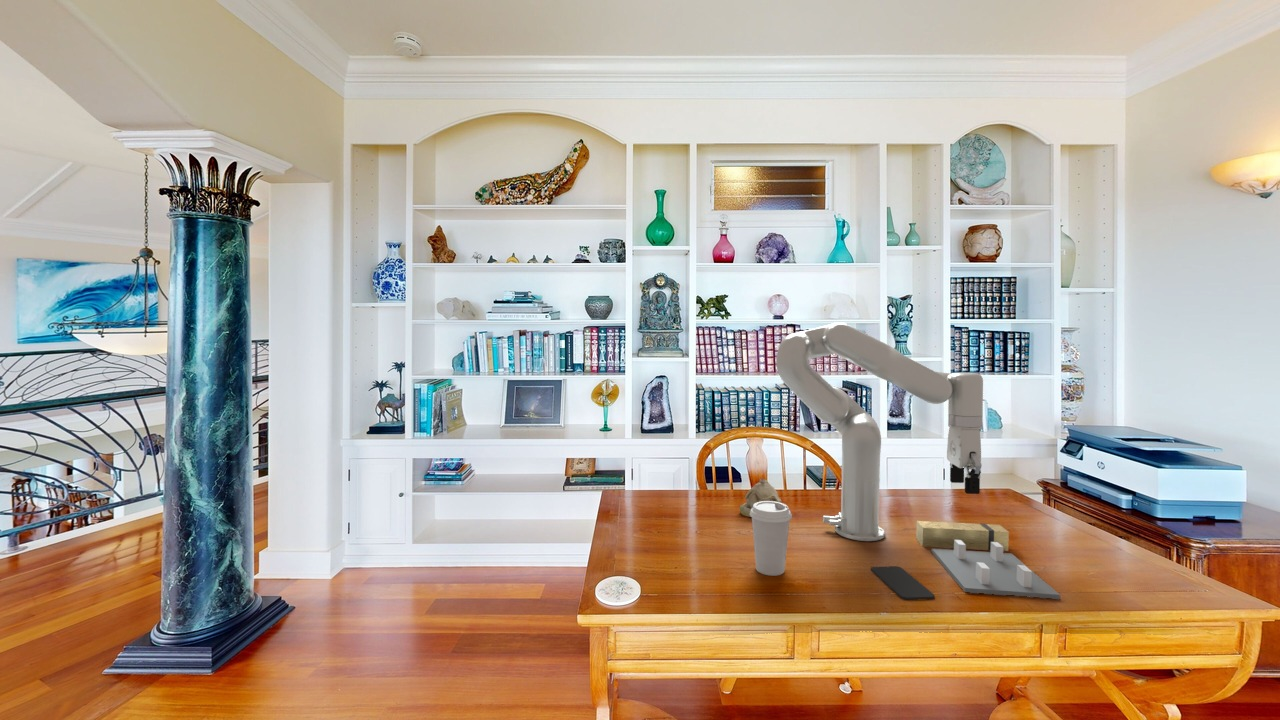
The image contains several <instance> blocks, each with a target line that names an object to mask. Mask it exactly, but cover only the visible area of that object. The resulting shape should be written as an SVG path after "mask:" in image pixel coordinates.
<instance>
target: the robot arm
mask: <svg viewBox="0 0 1280 720" xmlns="http://www.w3.org/2000/svg"><path fill="white" fill-rule="evenodd" d="M831 355H836V356H838V357H841V358H842V359H843V360H846V361H847V362H850V363H852V365H853V364H854V365H855V366H858V367H859V368H861V369H862V370H865V371H867V373H870V374H872V375H874V376H875V377H877V378H879V379H881V380H885V381H886V382H889V383H891V384H892V385H895V386H896V387H897V388H900V389H902V390H904V391H905V392H907V393H909V394H911V395H913V396H915V397H917V398H919V399H920V400H922V401H924V402H926V403H929V404H932V405H940V404H943V403H945V402H947V401H948V404H947V406H948V408H947V409H948V412H947V413H948V415H947V416H948V421H947V422H948V423H947V424H948V425H947V427H949V428H948V433H947V448H946V459H947V460H948V462H949V466H950V467H949V470H950V471H949V475H950V476H949V482H951V483H954V484H963V483H964V493H965V494H967V495H969V494H970V495H979V494H980V491H981V489H980V488H981V484H980V483H981V474H982V470H981V469H982V444H981V441H982V440H981V430H982V429H983V420H984V419H983V412H984V411H983V410H984V409H983V408H984V404H983V403H984V401H983V399H984V379H983V376H982V375H981V374H980V373H975V372H953V373H952V372H951V373H950V372H942V371H934V370H933V369H931V368H929V367H927V366H926V365H925V366H924V365H923V364H921V363H919V362H917V361H916V360H913V359H912V358H910V357H908V356H906V355H904V354H903V353H901V352H900V351H898V350H897V349H896V348H894V347H892V346H890V345H889V344H887V343H885V342H883V341H881V340H879V339H877V338H875V337H873V336H871V335H869V334H867V333H865V332H863V331H861V330H859V329H857V328H855V327H853V326H852V325H850V324H848V323H846V322H842V321H841V322H838V321H837V322H833V323H831V324H827V325H823V326H819V327H815V328H811V329H808V330H803V331H798V332H792V333H790V334H787V335H786V336H785V337H784V338H783V339H782V340H781V342H780V344H779V346H778V349H777V353H776V361H775V364H776V368H777V372H778V375H779V377H780V378H781V380H782V382H783V383H784V384H785V386H787V388H789V390H790V391H791V392H792V393H793V394H795V396H796V397H797V398H798V399H799V400H800V401H801V402H802V403H803V404H804V405H805V406H806V407H807V408H808V409H810V411H811V412H812V413H813V414H814V415H815V416H816V417H817V418H818V419H819V420H820V421H822V422H823V423H826V424H829V425H831V426H832V427H833V428H834V429H835V430H836V431H837V432H838V433H839V434H840V435H841V492H840V493H841V498H840V499H841V501H840V502H841V503H840V507H841V508H840V511H839V512H838V514H836V515H833V516H830V515H823V516H822V522H823V523H826V524H828V525H829V526H834V531H835V533H836V534H838V535H839V536H841V537H843V538H845V539H850V540H854V541H860V542H876V541H880V540H882V539H884V537H885V529H883V528H882V527H880V526H879V523H880V522H879V518H880V517H879V514H880V480H881V479H880V478H881V477H880V466H881V450H882V434H881V431H880V428H879V426H878V424H877V422H876V420H875V418H873V417H872V416H871V415H870V414H869V412H867V411H866V410H865V409H864V408H863V407H861V405H860V404H858V402H856V401H855V400H854V399H853V398H852V397H851V396H850V395H849V394H847V393H846V392H845V391H844V390H842V389H841V388H839V387H837V386H832V385H831V384H830V383H829V382H828V381H827V380H826V379H825V378H823V376H821V375H820V374H819V373H818V372H817V371H816V370H815V369H814V368H813V367H812V366H811V364H810V361H809V360H813V359H816V358H821V357H822V358H823V357H825V356H826V357H827V356H831Z"/></svg>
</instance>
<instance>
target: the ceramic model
mask: <svg viewBox="0 0 1280 720" xmlns="http://www.w3.org/2000/svg"><path fill="white" fill-rule="evenodd" d="M744 499H745V500H746V502H745V503H743V504H741V505H740V506H739V512H740V514H741V515H743V516H745V517H751V516H750V511H751V509H752V508H753V505H754V504H755V503H757V502H760V501H775V502H780V503H782V498H780V497H779V493H778V491H777V490H776V488H775V487H774V486H772V484H771V483H770V482H769V481H768V480H767V479H764V478H760V479H759V482H757V483H755V484H754V485H753V486H752V487H751V488H750V489H749V490H748V491H747V493H746V494H745V496H744ZM751 518H752V517H751Z"/></svg>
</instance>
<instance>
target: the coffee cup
mask: <svg viewBox="0 0 1280 720" xmlns="http://www.w3.org/2000/svg"><path fill="white" fill-rule="evenodd" d="M750 516H751V525H752V535H753V546H754V561H755V570H756V571H757V572H758V573H760V574H762V575H765V576H769V577H770V576H775V577H776V576H781V575H783V574H784V573H785V571H786V559H787V550H788V540H789V539H788V538H789V530H790V520H792V519H793V516H792V512H791V510H790V508H789V506H788V505H787V504H786V503H784V502H781V503H780V502H775V501H760V502H757V503H755V504H754V505H753V508H752V509H751V511H750Z"/></svg>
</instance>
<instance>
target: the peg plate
mask: <svg viewBox="0 0 1280 720" xmlns="http://www.w3.org/2000/svg"><path fill="white" fill-rule="evenodd" d="M931 554H932V555H933V556H934V557H935V559H936V560H937V561H938V562H939V563H940V564H941V565H942V567H943V568H944V570H945V571H947V573H948V574H949V575H950V577H951V578H952V579H953V580H954V581H955V582H957V583H956V584H957V585H958V586H959V587H960V588H962V589H963V590H962V589H961V590H962V591H963V592H964V593H965V592H970V593H969V594H979V593H984V594H983V595H992V594H994V595H993V596H1006V595H1015V596H1014V597H1019V596H1027V597H1026V598H1033V597H1040V598H1039V599H1046V598H1052V599H1051V600H1059V599H1060V600H1061V594H1060V593H1059V592H1057V590H1055V589H1054V588H1052V586H1050V585H1049V584H1048V583H1047V582H1045V581H1044V579H1042V578H1041V577H1040V576H1038V574H1036V573H1035V572H1034V571H1033V570H1032V569H1031V568H1029V567H1028V566H1027V565H1026V564H1025V563H1023V562H1022V561H1021V560H1020V559H1019V558H1017V556H1016V555H1014V554H1013V553H1011V552H1004V551H1003V546H1002V545H1000V544H999V543H998V542H991V550H989V551H982V550H981V551H980V550H977V551H976V550H967V549H966V545H965V544H964V543H963V542H962V541H961V540H954V548H953V549H949V548H931ZM1029 596H1030V597H1029Z"/></svg>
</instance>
